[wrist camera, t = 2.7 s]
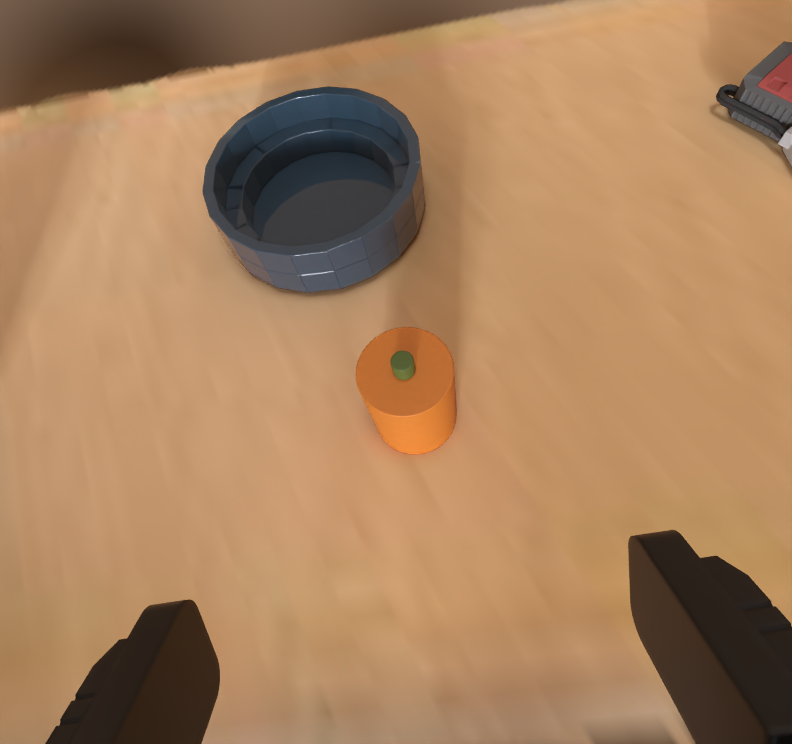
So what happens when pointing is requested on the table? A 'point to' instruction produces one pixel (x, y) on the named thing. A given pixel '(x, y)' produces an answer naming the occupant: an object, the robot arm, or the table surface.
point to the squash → (409, 389)
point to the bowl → (317, 188)
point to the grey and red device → (765, 98)
